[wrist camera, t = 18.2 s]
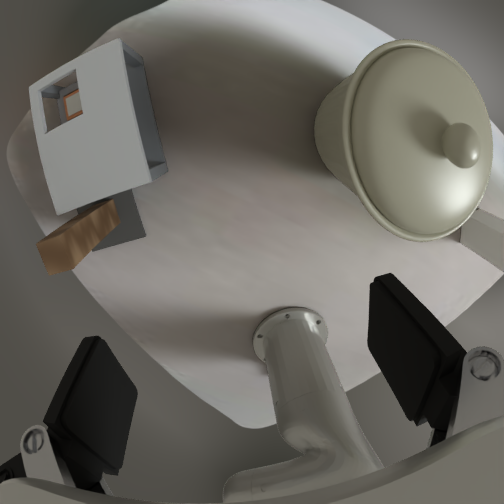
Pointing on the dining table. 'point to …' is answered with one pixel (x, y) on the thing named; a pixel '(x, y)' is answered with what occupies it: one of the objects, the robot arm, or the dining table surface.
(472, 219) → the milk
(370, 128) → the canister
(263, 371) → the dining table surface
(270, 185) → the dining table surface
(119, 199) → the pad
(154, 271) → the dining table surface
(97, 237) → the brown wooden bar
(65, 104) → the breaker button
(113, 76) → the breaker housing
